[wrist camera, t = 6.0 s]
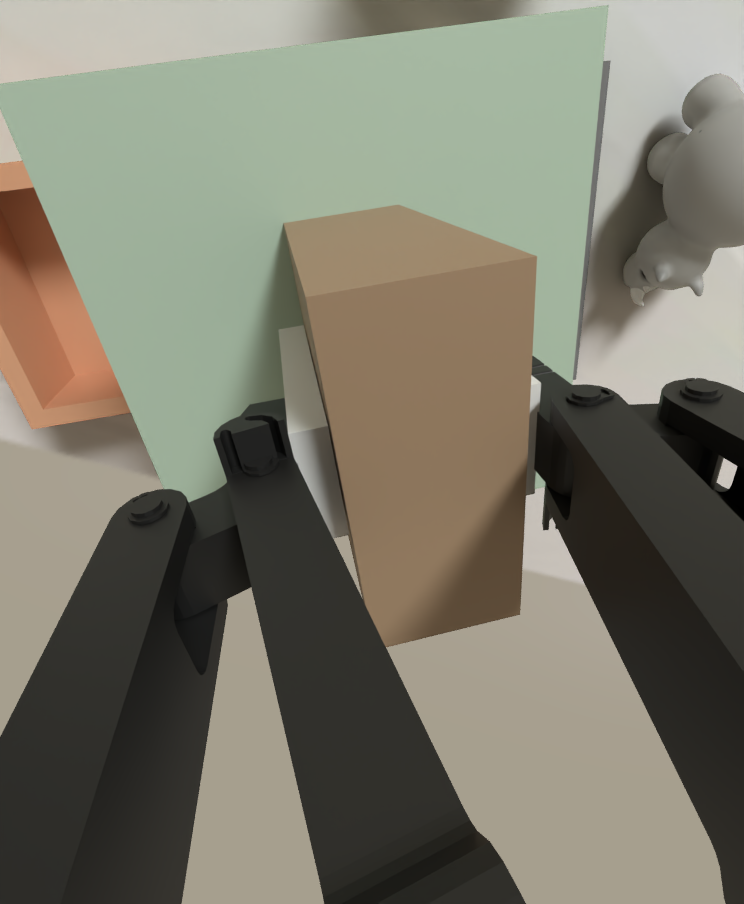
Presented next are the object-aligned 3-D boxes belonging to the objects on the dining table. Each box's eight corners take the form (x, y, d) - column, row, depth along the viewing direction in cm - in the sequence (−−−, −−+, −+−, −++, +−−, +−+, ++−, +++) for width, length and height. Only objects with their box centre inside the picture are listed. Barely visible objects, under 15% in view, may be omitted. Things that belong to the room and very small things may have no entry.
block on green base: (8, 89, 13) (-476, -33, 4) (588, 13, 14) (1052, -185, 6) (198, 548, 21) (156, 805, 13) (551, 470, 23) (721, 656, 14)
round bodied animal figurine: (566, 247, 36) (605, 321, 30) (702, 47, 27) (790, 100, 22) (647, 275, 38) (696, 349, 32) (797, 96, 29) (900, 157, 23)
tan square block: (-28, 173, 26) (-102, 176, 21) (207, 143, 27) (191, 139, 22) (70, 386, 32) (32, 429, 27) (258, 355, 33) (255, 391, 28)
